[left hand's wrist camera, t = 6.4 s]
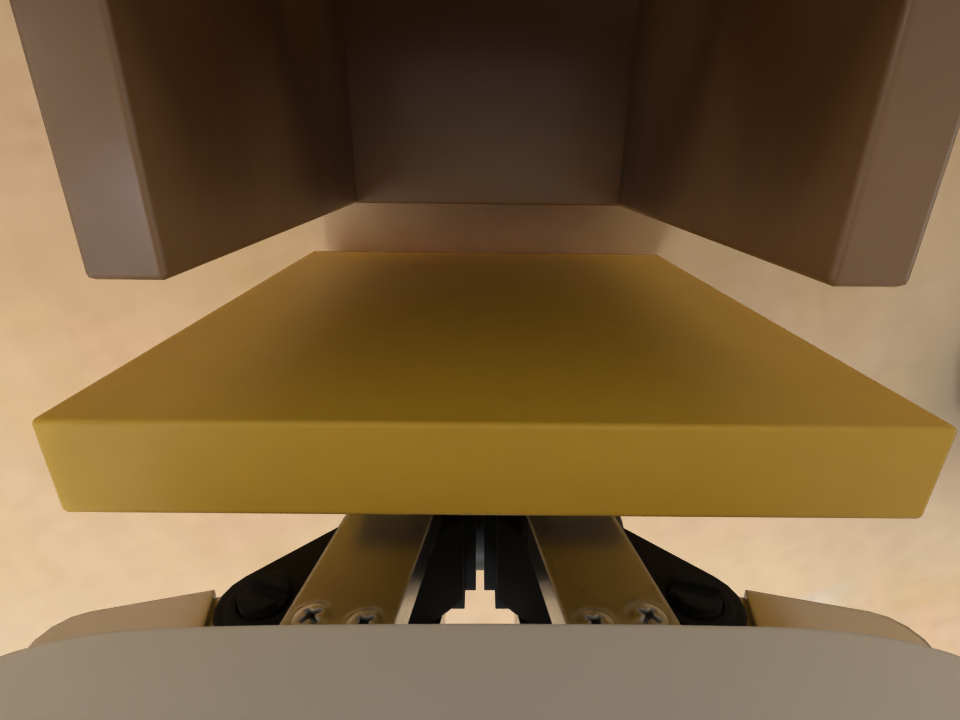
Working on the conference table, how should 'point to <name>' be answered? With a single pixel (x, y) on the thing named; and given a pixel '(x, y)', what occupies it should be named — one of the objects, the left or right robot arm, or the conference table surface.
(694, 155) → the drawer
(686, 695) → the left robot arm
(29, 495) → the conference table surface
